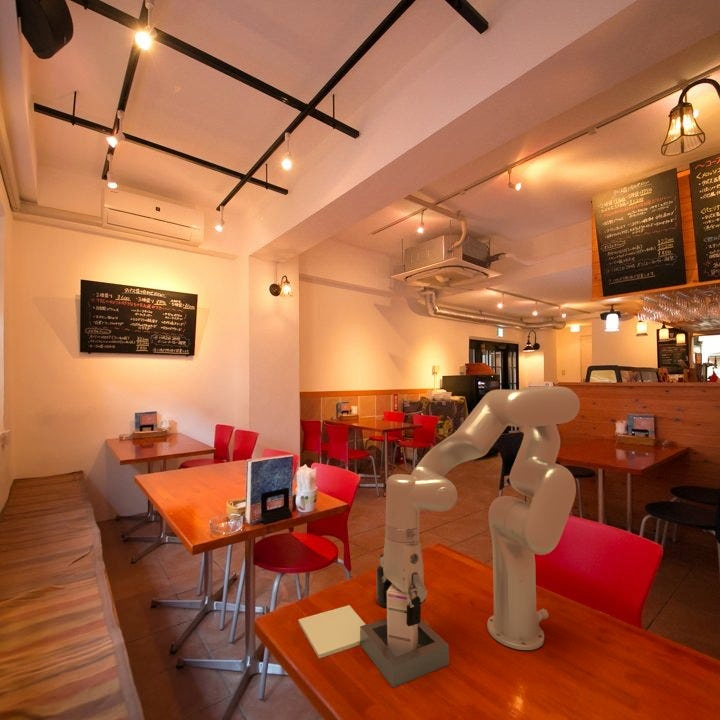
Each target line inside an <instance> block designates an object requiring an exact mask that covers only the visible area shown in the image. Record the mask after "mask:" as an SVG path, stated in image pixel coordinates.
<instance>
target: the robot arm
mask: <svg viewBox="0 0 720 720" xmlns="http://www.w3.org/2000/svg"><path fill="white" fill-rule="evenodd" d="M580 406H581V402H580V399H579V397H578V395H577V393H575V392H574V391H573V390H572V389H571V388H569V387H565V386H559V385H558V386H546V385H540V386H539V385H538V386H537V385H533V386H532V385H531V386H526V387H522V388H520V389H493V390H490V391H489V392H487V393H486V394H485V395H484V396H483V397H482V398H481V400H480V401H479V402H478V403H477V404H476V406H475V407H474V408H473V409H472V411H471V412H470V413H469V415H468V416H467V417H466V418H465V420H464V421H463V422H462V424H460V425H459V427H458V428H457V430H456V431H454V433H452V434H451V435H449V436H447V437H446V438H444V439H443V440H442V441H440V442H438V443H437V444H435V446H433V447H432V448H431V449H430V450H429V451H427V452H426V454H425V455H424V456H423V457H422V458H421V460H420V461H419V462H418V463H417V465H416V466H415V467H414V469H413V470H412V472H411V473H410V474H405V473H396V474H391V475H390V476H388V478H387V480H386V491H385V533H384V535H385V538H384V543H383V544H384V546H383V554H384V555H383V557H380V556H379V565H380V564H381V572H382V575H383V577H382V582H383V583H384V584H383V601H384V602H387V590H388V589H389V587H390V585H391V584H392V583H393V584H394V585H395V586H396V587H397V588H398V589H399V590H401V591H402V592H403V593H405V594H406V597H407V600H408V604H409V605H407V621H406V623H407V625H408V626H412V625H415V624H419V623H420V621H421V620H422V619H421V618H422V617H421V616H422V615H421V612H422V611H421V609H422V608H421V607H422V606H423V603H424V602H425V601H426V598H427V595H428V590H427V588H426V586H425V585H424V582H425V581H424V561H423V551H422V545H421V542H420V511H421V510H422V511H430V512H439V513H440V512H445V511H446V512H447V511H448V510H450V509H452V508H453V507H454V506H455V504H456V503H457V500H458V491H457V488H456V486H455V485H454V484H453V482H452V481H451V480H449V479H448V478H447V477H445V476H446V474H447V473H448V472H450V470H452V469H453V468H454V467H456V466H458V465H459V464H462V463H465V462H469V461H472V460H473V461H474V460H477V459H479V458H482V457H484V456H486V455H488V453H489V451H490V449H492V447H493V446H494V444H495V443H496V442H497V440H498V439H499V438H500V436H501V435H502V434H503V433H504V431H505V430H506V429H507V427H513V428H515V427H516V428H523V429H524V432H523V433H524V434H523V438H522V441H521V444H520V447H519V449H518V451H517V454H516V458H515V460H514V463H513V465H512V466H511V470H510V473H509V484H510V486H511V487H512V488H513V490H515V491H516V492H518V493H519V494H521V495H523V496H525V497H528V498H530V499H531V503H529V502H527V501H525V500H522V499H520V498H518V497H514V496H511V495H510V496H509V495H502V496H499V497H496V498H495V499H494V500H493V501H492V502H491V503H490V506H489V508H488V509H489V510H488V515H487V516H488V525H489V530H490V531H489V532H490V537H491V544H492V574H493V575H492V577H493V578H492V579H493V582H492V583H493V615H491V616H490V617H489V618H488V620H487V621H486V622H487V623H486V624H487V626H486V627H487V631H488V633H489V634H490V636H491V637H492V638H493V639H494V640H495V641H497V642H499V644H501V645H504V646H506V647H508V648H510V649H515V650H520V651H533V650H537V649H539V648H540V647H542V646H543V644H544V642H545V633H544V631H543V629H542V628H541V627H540V623H541V621H542V620H545V619H547V618H549V616H550V615H549V612H548V610H547V609H545V608H541V609H539V610H537V589H536V587H537V583H536V580H537V578H536V576H537V575H536V558H535V557H536V556H535V555H539V556H543V555H544V556H546V555H547V554H549V553H551V552H552V551H553V550H555V549H556V547H557V546H558V544H559V542H560V540H561V538H562V535H563V533H564V530H565V527H566V525H567V521H568V519H569V516H570V514H571V510H572V508H573V505H574V502H575V499H576V494H577V493H576V492H577V487H576V480H575V477H574V475H573V474H572V472H571V471H570V470H569V469H568V468H567V467H565V466H563V465H561V464H559V463H556V462H557V457H558V455H559V452H560V448H561V435H560V432H559V430H558V426H557V425H559V424H566V423H569V422H571V421H572V420H573V419H575V418H576V417H577V415H578V414H579V411H580V408H581V407H580ZM412 585H413V588H412V589H409V588H410V586H412ZM413 592H414V593H415V596H416V597H415V598H414V599H413V600H412V596H411V593H413Z"/></svg>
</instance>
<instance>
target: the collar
mask: <svg viewBox="0 0 720 720" xmlns="http://www.w3.org/2000/svg"><path fill="white" fill-rule="evenodd" d="M365 624H366V625H363V626H360V645H359V646H360V647H361V649H362V650H364V652H365V653H366V654H367V656H368V657H369V659H370V660H371V661H372V663H373V664H374V666H375V667H376V668H377V669H378V671H379V672H380V673H381V674H382V676H383V677H384V678H385V679H386V680H387V682H388V683H389V685H390V686H391V687H392V688H396V687H398V686H401V685H404V684H406V683H408V682H410V681H412V680H415V679H418V678H420V677H422V676H425V675H427V674H429V673H432V672H434V671H437V670H440V669H441V668H444V667H446V666H448V665H449V664H450V653H449V652H450V647H449V646H450V645H449V644H448V642H446V641H445V639H443V638H442V637H441V636H440V634H437V633H436V631H434V630H433V629H432V628H431V627H430V626H429V625H428V624H427V623H425V621H424V620H422V619H421V621H420V623H419V624H418V644H419V648H418V649H415V650H413V651H410V652H407V653H404V654H402V655H399V656H395V655H394V654H393V653H392V652H391V650H390V649H389V648H388V647H387V617H386V618H383V619H382V618H381V619H378V620H376V621H373V622H369V623H365ZM449 666H450V665H449Z"/></svg>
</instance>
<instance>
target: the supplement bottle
mask: <svg viewBox="0 0 720 720" xmlns="http://www.w3.org/2000/svg"><path fill="white" fill-rule="evenodd" d="M383 555H384V553H382V554H380V556H379V558H380V557H383ZM375 570H376V571H375V572H376V576H375V577H376V582H375V583H376V602H377V603H378V604H377V605H379V606H381V607H383V608H386V609H387V602H384V601H383V584H384V583H383V582H382V577H383V575H382V572H381V564H380V563H379V564H378V565H377V568H376V569H375Z"/></svg>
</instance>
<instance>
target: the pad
mask: <svg viewBox="0 0 720 720" xmlns="http://www.w3.org/2000/svg"><path fill="white" fill-rule="evenodd" d="M366 624H367V623H365V622H364V621H363V620H362V618H361V617H360V616H359V614H357V613H356V611H355V610H354V608H352V606H351V605H350V604H349V605H348V604H347V605H345V606H341V607H338V608H334V609H332V610H326V611H324V612H320V613H317V614H314V615H309V616H306V617H303V618H299V619H298V625H299V627H300V628H301V630H302V631H303V634H304V636H305V638H306V639H307V641H308V642H309V644H310V645H311V648H312V649H313V650H314V653H315V655H316V657H317V658H318V659H322V658H324V657H327V656H331V655H333V654H336V653H339V652H343V651H346V650H348V649H351V648H354V647H356V646H357V647H358V646H361V645H360V626H363V625H366Z"/></svg>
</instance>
